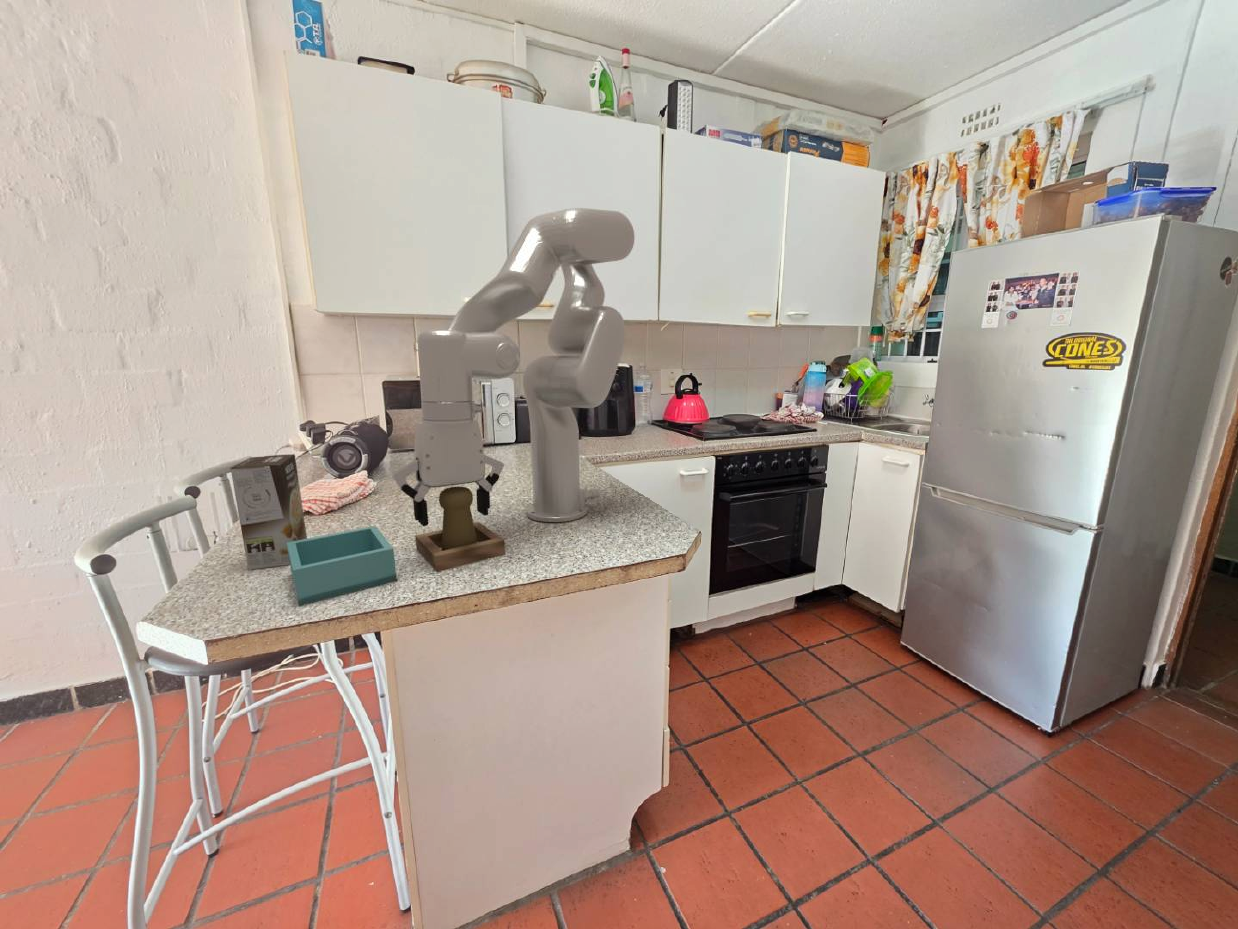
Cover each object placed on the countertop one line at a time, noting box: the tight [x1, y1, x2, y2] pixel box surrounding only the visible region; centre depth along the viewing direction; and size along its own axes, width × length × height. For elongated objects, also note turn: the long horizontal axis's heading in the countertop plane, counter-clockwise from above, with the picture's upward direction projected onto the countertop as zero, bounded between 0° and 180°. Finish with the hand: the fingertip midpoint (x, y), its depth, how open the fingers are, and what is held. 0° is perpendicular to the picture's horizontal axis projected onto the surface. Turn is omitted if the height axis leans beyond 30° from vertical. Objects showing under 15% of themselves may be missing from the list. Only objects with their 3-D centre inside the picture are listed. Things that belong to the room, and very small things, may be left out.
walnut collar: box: [414, 521, 506, 573], centre depth 80 cm, size 11×11×2 cm
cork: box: [438, 486, 479, 551], centre depth 79 cm, size 6×6×11 cm
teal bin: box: [287, 525, 398, 607], centre depth 71 cm, size 12×12×5 cm
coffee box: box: [229, 453, 308, 571], centre depth 77 cm, size 9×6×16 cm
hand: (454, 518), depth 79 cm, fingers open, 9 cm apart
